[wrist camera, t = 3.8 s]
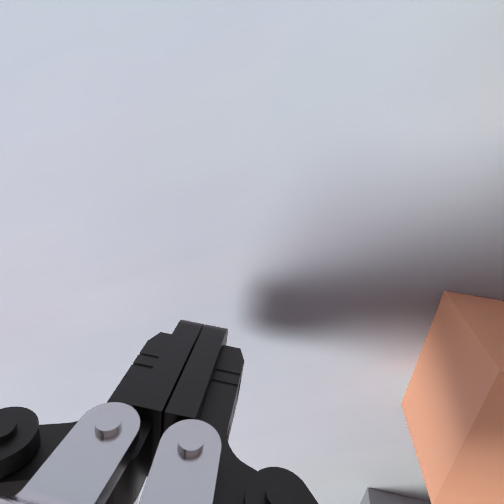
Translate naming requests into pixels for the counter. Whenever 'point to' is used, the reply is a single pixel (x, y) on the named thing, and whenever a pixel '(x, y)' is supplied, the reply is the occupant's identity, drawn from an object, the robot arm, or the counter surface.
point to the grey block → (387, 498)
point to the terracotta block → (460, 402)
